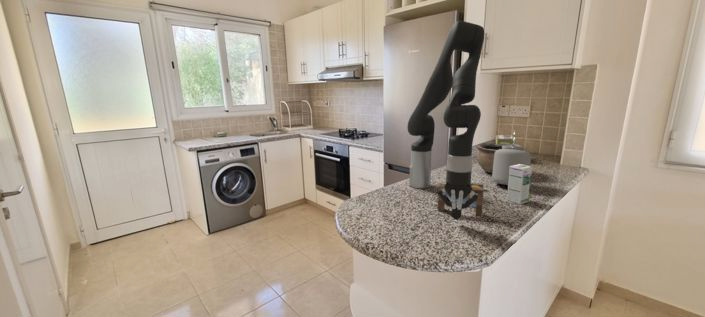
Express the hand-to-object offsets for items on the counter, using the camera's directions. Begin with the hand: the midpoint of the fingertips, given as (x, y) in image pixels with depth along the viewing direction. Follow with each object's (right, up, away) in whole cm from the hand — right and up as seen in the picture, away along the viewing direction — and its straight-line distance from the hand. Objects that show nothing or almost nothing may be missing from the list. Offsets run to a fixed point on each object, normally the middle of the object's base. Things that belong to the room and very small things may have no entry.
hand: (456, 218), depth 97 cm
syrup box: (+31, +3, +19) cm, 37 cm away
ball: (+15, +6, +22) cm, 27 cm away
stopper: (+18, +7, +37) cm, 41 cm away
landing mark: (+11, +3, +22) cm, 25 cm away
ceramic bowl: (+43, +12, +60) cm, 75 cm away
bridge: (+5, 0, +10) cm, 11 cm away
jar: (+39, +8, +40) cm, 56 cm away
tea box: (+62, +19, +90) cm, 111 cm away
